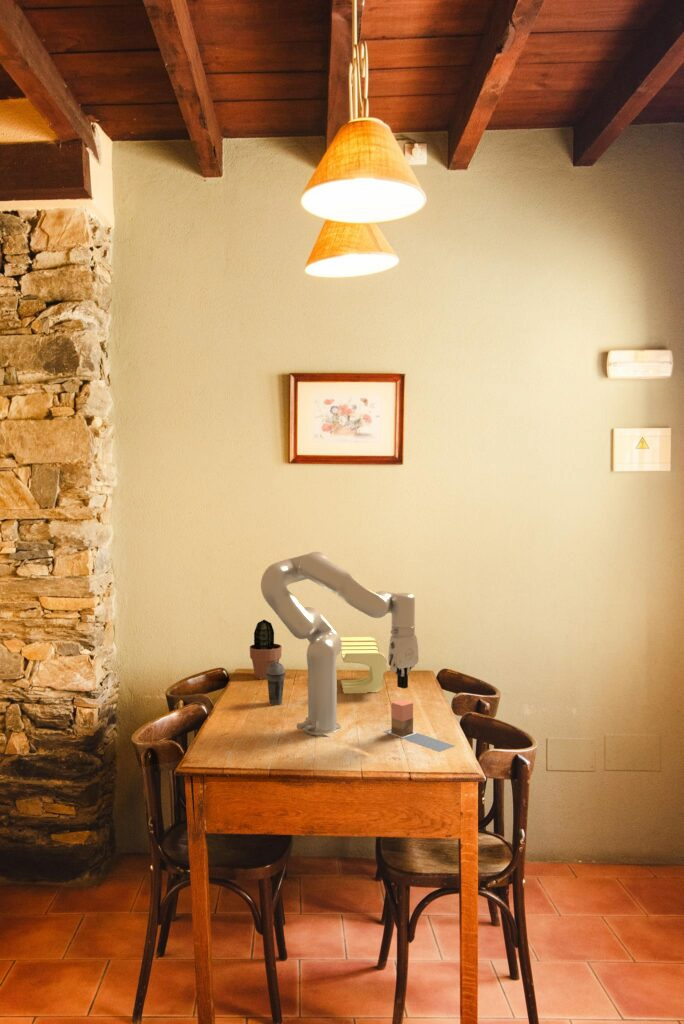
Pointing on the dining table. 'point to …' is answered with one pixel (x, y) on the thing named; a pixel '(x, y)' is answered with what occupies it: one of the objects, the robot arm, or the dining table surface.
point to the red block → (402, 710)
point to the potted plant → (264, 649)
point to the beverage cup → (275, 682)
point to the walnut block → (401, 727)
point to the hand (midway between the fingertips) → (402, 687)
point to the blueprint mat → (424, 741)
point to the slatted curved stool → (367, 654)
